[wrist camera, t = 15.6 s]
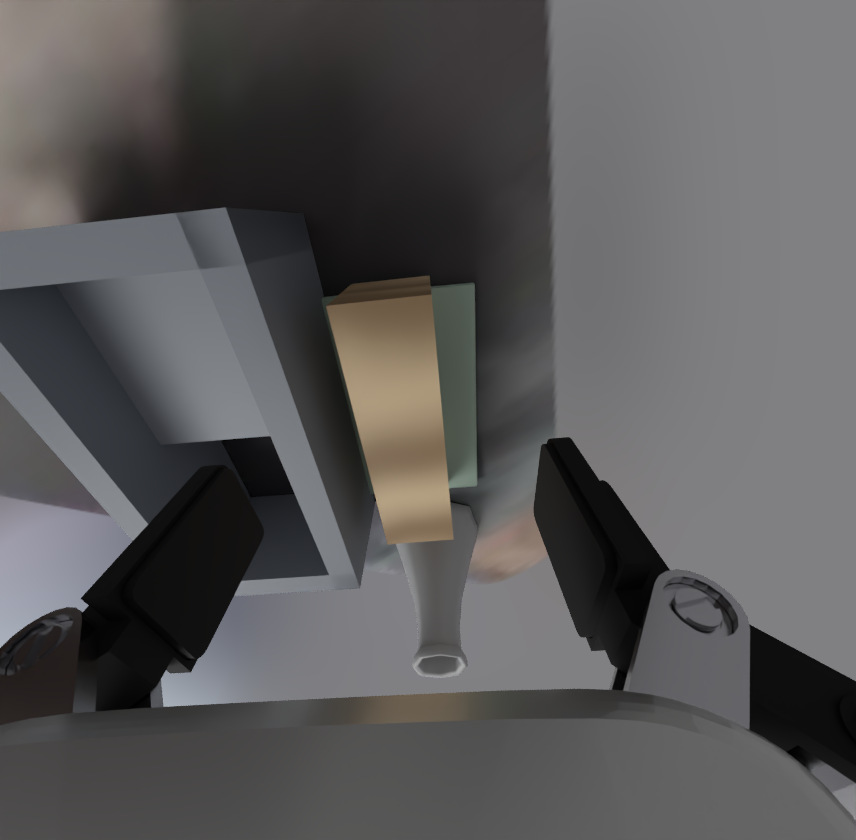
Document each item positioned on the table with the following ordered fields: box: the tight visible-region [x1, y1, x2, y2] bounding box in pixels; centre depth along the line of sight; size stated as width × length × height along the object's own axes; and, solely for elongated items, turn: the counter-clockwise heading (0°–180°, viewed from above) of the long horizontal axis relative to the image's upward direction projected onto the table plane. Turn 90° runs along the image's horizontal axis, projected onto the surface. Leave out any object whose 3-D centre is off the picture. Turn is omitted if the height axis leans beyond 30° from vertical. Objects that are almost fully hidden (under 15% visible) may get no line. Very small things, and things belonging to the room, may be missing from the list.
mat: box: [321, 282, 477, 494], centre depth 20 cm, size 14×8×1 cm, turn 5°
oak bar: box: [326, 275, 453, 544], centre depth 18 cm, size 14×4×5 cm, turn 6°
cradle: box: [0, 207, 375, 596], centre depth 18 cm, size 19×11×7 cm, turn 5°
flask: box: [396, 502, 478, 678], centre depth 23 cm, size 7×7×10 cm
